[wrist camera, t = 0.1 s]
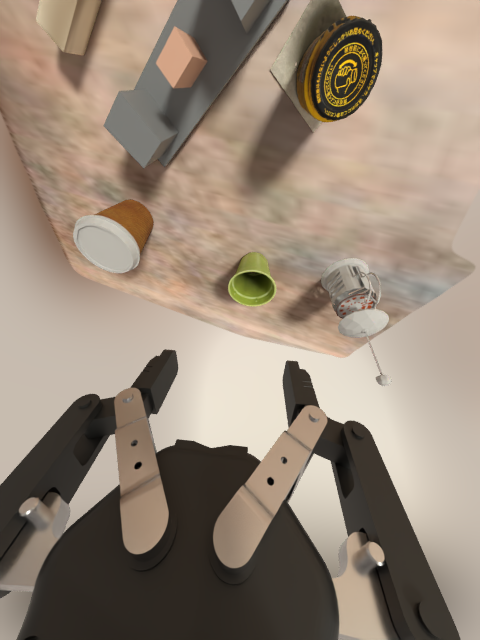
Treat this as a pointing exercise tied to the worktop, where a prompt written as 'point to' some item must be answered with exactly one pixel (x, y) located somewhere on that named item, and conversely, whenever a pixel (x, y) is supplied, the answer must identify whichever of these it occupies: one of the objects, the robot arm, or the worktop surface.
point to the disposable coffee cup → (114, 236)
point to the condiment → (329, 63)
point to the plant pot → (252, 281)
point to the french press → (355, 302)
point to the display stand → (187, 73)
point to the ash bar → (68, 22)
